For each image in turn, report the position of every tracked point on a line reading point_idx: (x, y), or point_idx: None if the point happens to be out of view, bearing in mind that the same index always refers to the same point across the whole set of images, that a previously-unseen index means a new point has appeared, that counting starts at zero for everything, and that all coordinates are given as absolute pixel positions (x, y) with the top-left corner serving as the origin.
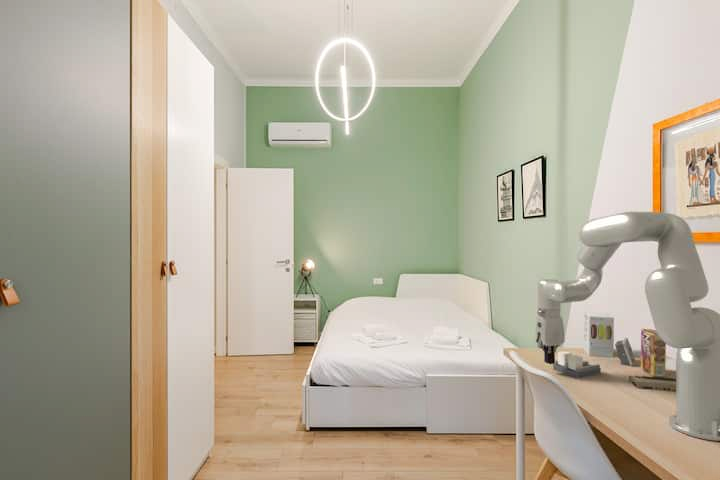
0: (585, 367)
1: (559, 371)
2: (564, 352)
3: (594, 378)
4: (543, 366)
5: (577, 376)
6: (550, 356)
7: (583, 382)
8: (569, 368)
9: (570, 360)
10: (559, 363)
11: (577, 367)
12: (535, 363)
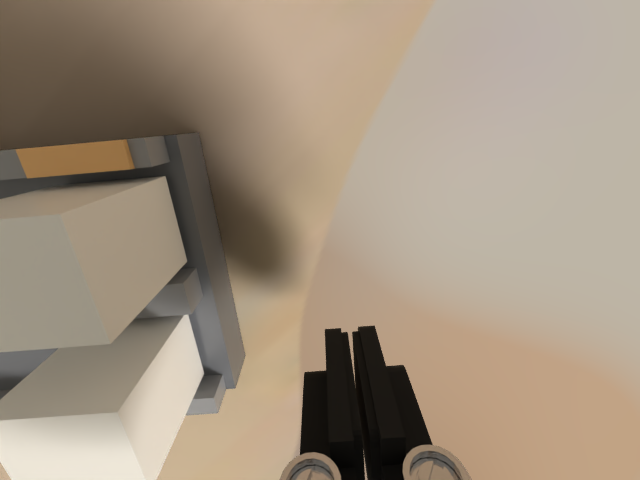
0: (14, 153)
1: (234, 308)
2: (59, 467)
3: (37, 67)
4: (263, 419)
5: (192, 136)
6: (391, 405)
7: (229, 11)
8: None
9: (132, 279)
10: (196, 366)
11: (119, 183)
12: (270, 470)
